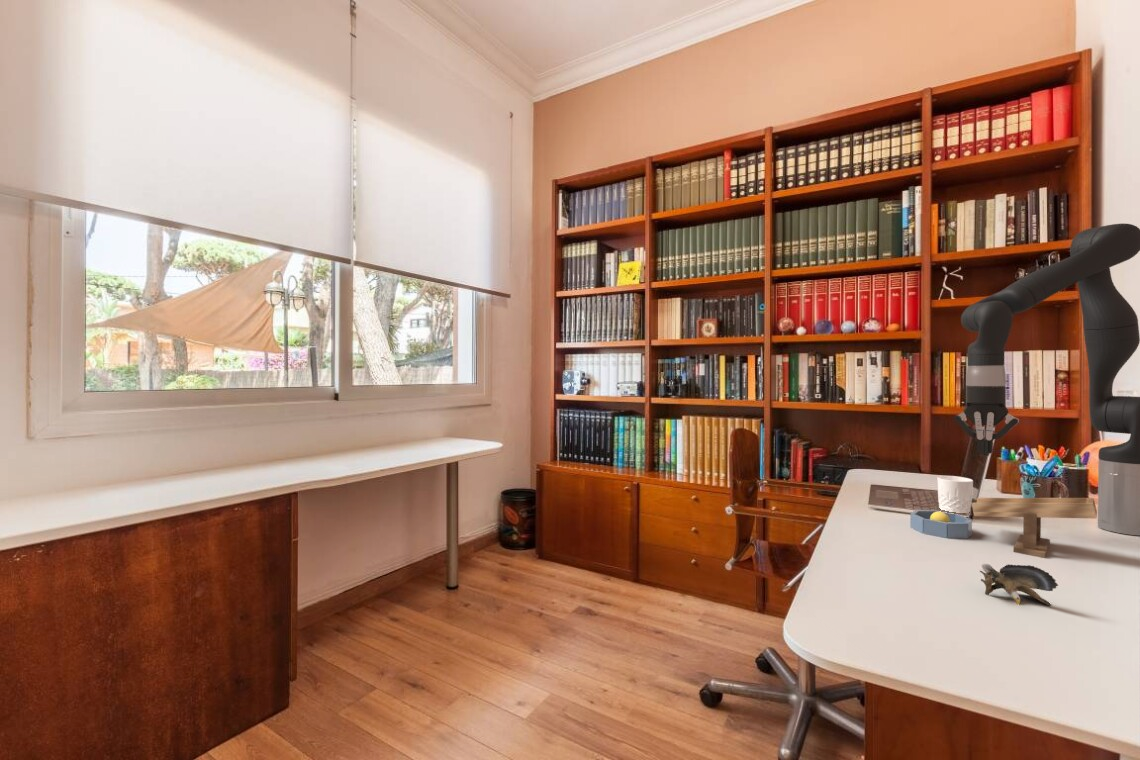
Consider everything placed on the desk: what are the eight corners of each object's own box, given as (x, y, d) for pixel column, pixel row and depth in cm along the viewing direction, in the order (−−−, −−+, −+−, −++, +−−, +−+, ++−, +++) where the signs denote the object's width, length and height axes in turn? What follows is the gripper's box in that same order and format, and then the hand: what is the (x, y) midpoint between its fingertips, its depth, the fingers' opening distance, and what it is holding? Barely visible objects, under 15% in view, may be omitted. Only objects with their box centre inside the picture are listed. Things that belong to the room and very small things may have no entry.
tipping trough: (971, 517, 118) (968, 502, 119) (981, 507, 127) (978, 494, 128) (1096, 519, 104) (1092, 503, 104) (1097, 508, 112) (1094, 493, 113)
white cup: (960, 511, 143) (960, 476, 143) (979, 519, 136) (980, 481, 136) (930, 510, 144) (930, 475, 144) (948, 518, 136) (948, 481, 136)
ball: (942, 526, 127) (936, 510, 128) (956, 526, 124) (950, 509, 125) (929, 530, 127) (923, 514, 128) (943, 530, 123) (937, 513, 124)
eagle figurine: (998, 601, 84) (1066, 599, 81) (980, 557, 88) (1045, 553, 85) (987, 609, 90) (1050, 608, 87) (971, 568, 94) (1031, 565, 91)
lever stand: (1013, 551, 111) (1013, 512, 111) (1020, 538, 120) (1021, 502, 119) (1044, 557, 107) (1045, 517, 107) (1049, 543, 116) (1050, 506, 116)
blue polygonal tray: (906, 530, 126) (906, 516, 126) (918, 521, 134) (918, 507, 134) (965, 541, 117) (965, 526, 117) (974, 531, 125) (974, 516, 125)
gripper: (948, 384, 126) (948, 453, 127) (1019, 385, 117) (1019, 460, 117) (955, 383, 131) (955, 450, 132) (1023, 384, 122) (1023, 456, 122)
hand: (985, 454), depth 124 cm, fingers closed
